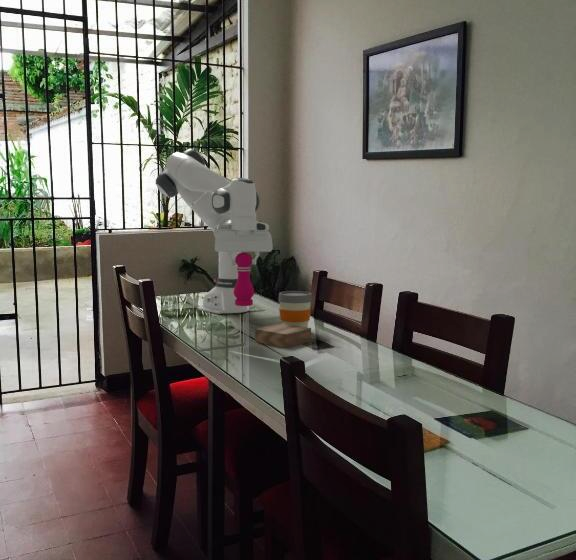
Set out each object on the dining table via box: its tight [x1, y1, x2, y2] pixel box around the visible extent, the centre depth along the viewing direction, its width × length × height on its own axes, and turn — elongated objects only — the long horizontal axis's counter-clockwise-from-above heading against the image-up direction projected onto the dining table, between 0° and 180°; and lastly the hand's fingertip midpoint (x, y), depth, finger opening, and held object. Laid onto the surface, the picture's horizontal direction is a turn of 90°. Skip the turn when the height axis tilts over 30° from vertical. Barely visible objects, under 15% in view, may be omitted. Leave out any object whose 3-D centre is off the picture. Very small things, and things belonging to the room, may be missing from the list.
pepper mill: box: [234, 252, 255, 307], centre depth 227 cm, size 7×7×20 cm
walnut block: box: [254, 322, 312, 349], centre depth 229 cm, size 14×14×5 cm
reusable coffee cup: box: [278, 290, 313, 328], centre depth 243 cm, size 13×12×15 cm
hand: (243, 264), depth 227 cm, fingers closed on pepper mill, 6 cm apart
